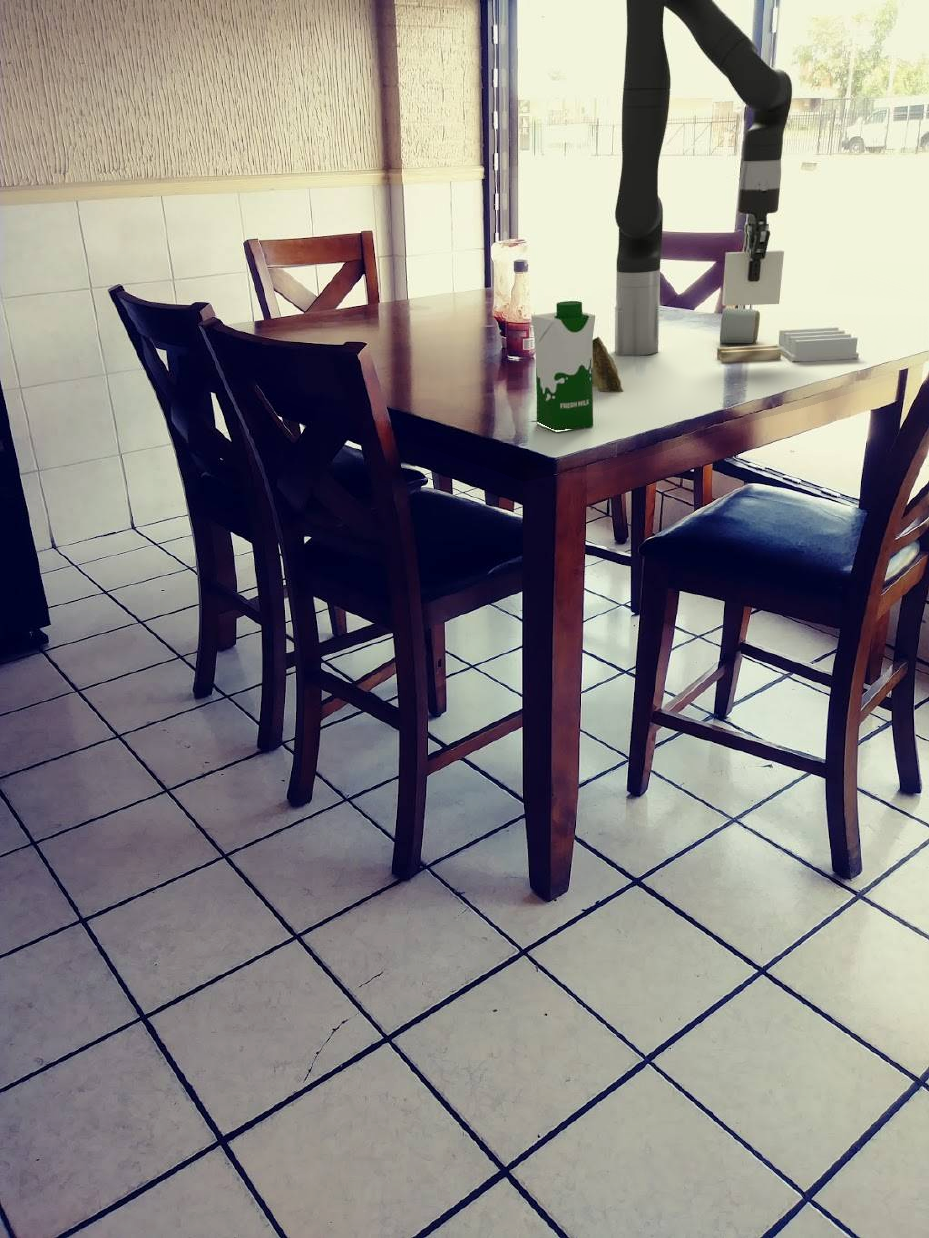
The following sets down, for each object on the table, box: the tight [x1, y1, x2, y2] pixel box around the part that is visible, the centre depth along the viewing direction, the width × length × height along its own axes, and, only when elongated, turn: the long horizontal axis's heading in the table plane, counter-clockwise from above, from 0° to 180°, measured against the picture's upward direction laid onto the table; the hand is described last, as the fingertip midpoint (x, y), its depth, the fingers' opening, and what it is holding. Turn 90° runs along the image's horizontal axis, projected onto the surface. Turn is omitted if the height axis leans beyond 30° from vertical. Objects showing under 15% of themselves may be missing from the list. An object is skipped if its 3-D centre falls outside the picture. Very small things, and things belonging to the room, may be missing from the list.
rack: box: [775, 326, 860, 362], centre depth 202 cm, size 13×14×4 cm
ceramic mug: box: [719, 307, 761, 344], centre depth 219 cm, size 11×8×8 cm
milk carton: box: [530, 300, 596, 430], centre depth 159 cm, size 9×9×20 cm
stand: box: [716, 344, 782, 363], centre depth 203 cm, size 12×5×2 cm, turn 88°
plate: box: [721, 249, 785, 307], centre depth 196 cm, size 11×2×10 cm, turn 87°
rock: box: [592, 336, 624, 392], centre depth 187 cm, size 11×9×10 cm
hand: (752, 280), depth 196 cm, fingers closed on plate, 2 cm apart
